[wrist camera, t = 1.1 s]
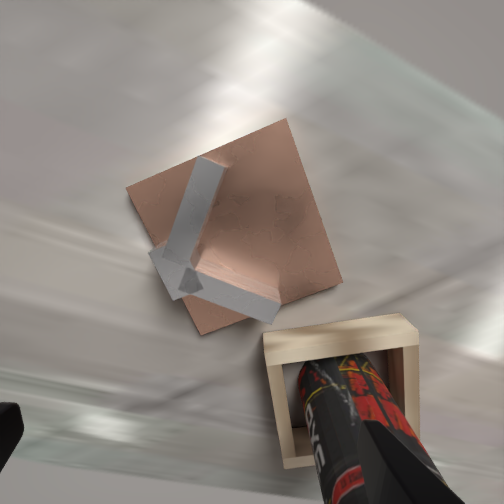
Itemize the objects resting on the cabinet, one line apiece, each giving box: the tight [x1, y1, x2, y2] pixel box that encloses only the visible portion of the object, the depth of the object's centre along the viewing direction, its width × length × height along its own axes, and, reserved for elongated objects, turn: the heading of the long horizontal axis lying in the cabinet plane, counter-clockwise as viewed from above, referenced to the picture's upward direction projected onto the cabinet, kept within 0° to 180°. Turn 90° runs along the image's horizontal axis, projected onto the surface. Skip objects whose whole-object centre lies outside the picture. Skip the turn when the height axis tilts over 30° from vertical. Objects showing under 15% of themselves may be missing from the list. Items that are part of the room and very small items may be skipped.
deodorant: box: [298, 353, 448, 504], centre depth 16 cm, size 6×6×15 cm
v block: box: [126, 118, 343, 335], centre depth 18 cm, size 10×11×3 cm
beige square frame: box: [263, 313, 420, 469], centre depth 22 cm, size 10×10×2 cm
